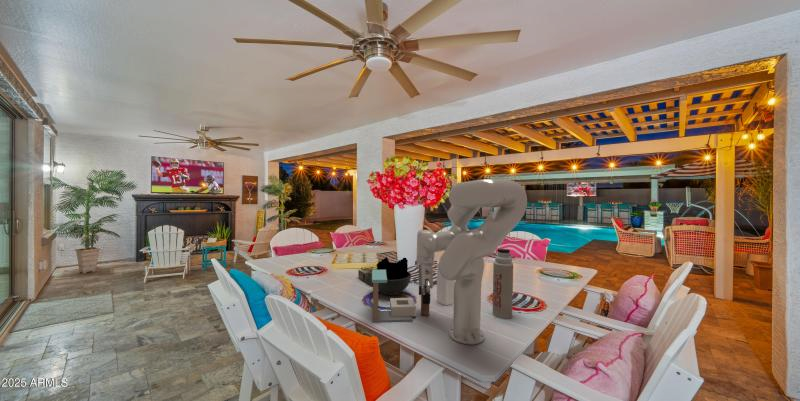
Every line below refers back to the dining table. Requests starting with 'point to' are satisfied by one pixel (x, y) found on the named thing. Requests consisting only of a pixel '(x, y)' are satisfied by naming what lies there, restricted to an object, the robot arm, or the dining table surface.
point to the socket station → (391, 303)
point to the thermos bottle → (503, 284)
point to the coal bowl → (394, 276)
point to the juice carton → (366, 275)
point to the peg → (424, 306)
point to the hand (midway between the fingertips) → (424, 299)
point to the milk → (444, 289)
